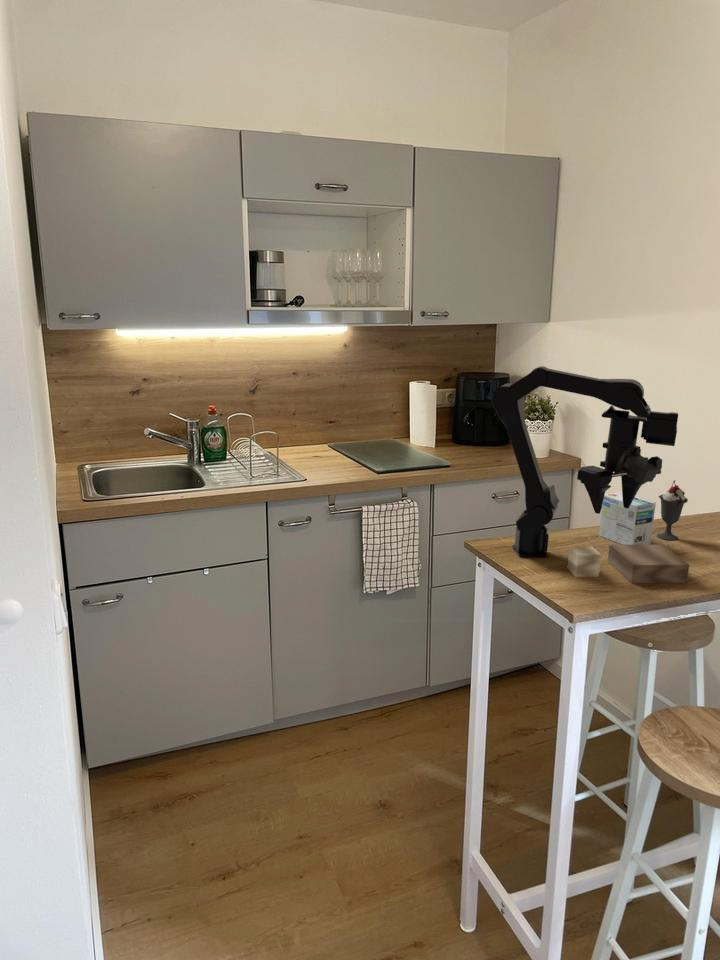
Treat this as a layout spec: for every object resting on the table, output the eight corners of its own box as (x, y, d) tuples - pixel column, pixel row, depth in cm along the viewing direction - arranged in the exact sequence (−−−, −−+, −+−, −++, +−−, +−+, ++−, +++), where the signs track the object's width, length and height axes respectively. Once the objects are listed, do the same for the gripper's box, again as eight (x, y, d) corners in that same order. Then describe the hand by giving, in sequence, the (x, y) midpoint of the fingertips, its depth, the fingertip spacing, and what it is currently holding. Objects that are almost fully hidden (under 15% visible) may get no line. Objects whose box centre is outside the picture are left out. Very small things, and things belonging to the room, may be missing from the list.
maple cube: (575, 577, 153) (578, 555, 151) (567, 568, 157) (569, 546, 156) (598, 577, 153) (601, 555, 152) (589, 568, 158) (592, 546, 157)
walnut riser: (631, 583, 150) (633, 565, 149) (607, 561, 162) (609, 544, 161) (686, 582, 151) (689, 564, 150) (659, 561, 163) (661, 544, 162)
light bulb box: (651, 545, 173) (657, 502, 170) (632, 549, 170) (638, 505, 167) (616, 531, 182) (621, 490, 179) (597, 535, 179) (602, 493, 176)
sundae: (660, 541, 175) (668, 482, 172) (648, 532, 182) (656, 474, 178) (686, 542, 176) (695, 482, 172) (674, 532, 182) (682, 475, 178)
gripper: (623, 452, 141) (612, 527, 145) (683, 444, 151) (671, 516, 155) (580, 440, 150) (570, 511, 154) (639, 434, 160) (628, 501, 164)
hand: (611, 510), depth 157 cm, fingers open, 9 cm apart
